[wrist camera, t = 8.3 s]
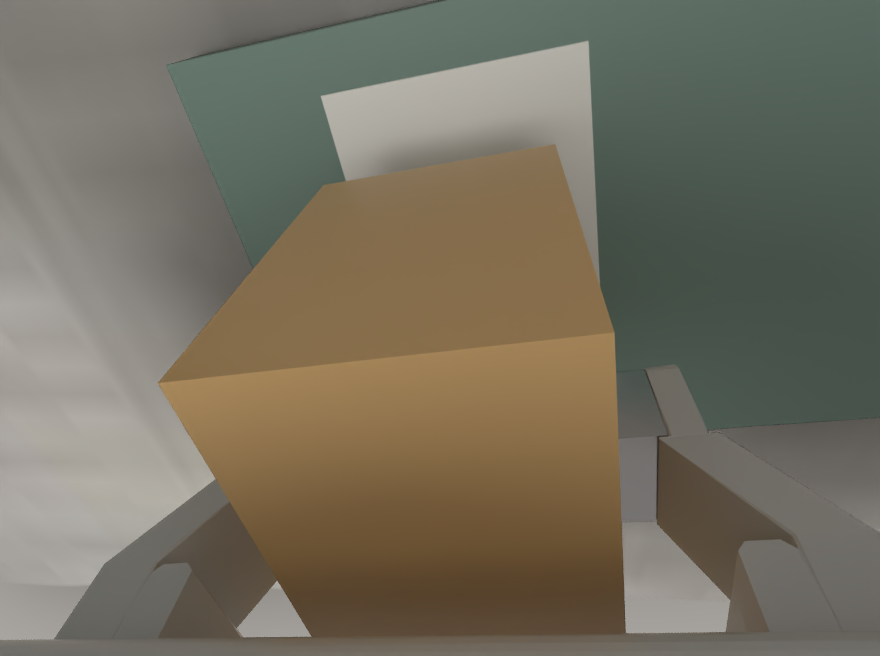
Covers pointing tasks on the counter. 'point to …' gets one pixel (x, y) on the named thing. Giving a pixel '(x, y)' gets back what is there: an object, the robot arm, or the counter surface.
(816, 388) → the board
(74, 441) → the counter surface
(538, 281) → the block
